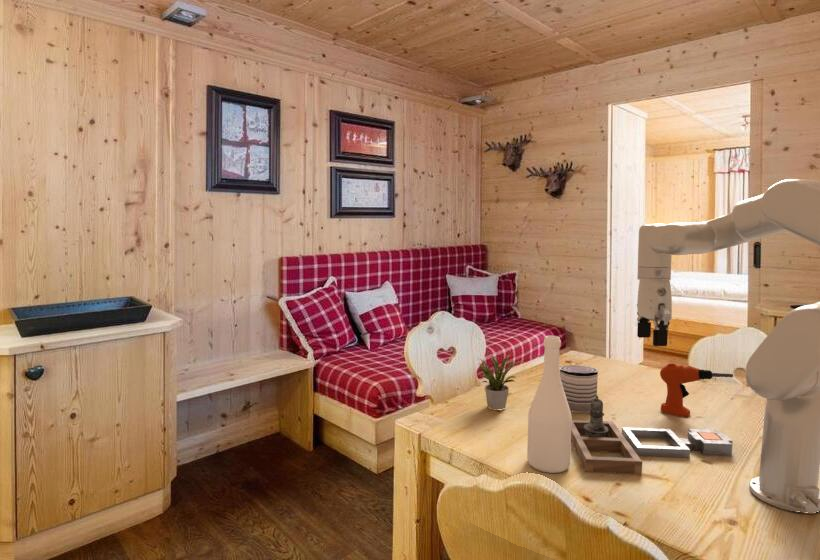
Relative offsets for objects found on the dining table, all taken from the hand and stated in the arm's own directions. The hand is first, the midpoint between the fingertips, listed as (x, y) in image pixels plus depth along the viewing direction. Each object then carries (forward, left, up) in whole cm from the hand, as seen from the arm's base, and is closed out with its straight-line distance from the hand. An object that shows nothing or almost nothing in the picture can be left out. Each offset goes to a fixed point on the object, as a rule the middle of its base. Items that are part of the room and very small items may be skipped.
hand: (651, 341), depth 130 cm
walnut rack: (-9, +14, -25) cm, 30 cm away
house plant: (+18, +36, -26) cm, 48 cm away
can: (+21, +13, -26) cm, 36 cm away
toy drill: (+16, -18, -26) cm, 35 cm away
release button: (-5, -13, -25) cm, 29 cm away
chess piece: (-4, +14, -26) cm, 29 cm away
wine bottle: (-17, +28, -26) cm, 41 cm away
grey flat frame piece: (-5, -6, -25) cm, 26 cm away
